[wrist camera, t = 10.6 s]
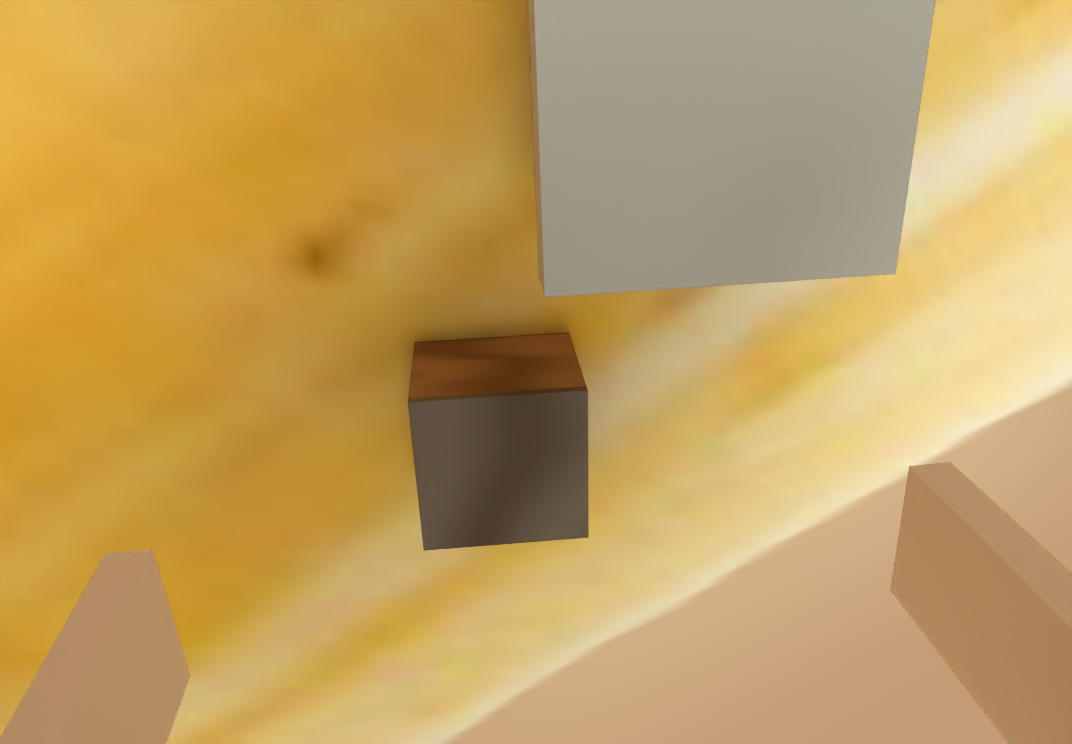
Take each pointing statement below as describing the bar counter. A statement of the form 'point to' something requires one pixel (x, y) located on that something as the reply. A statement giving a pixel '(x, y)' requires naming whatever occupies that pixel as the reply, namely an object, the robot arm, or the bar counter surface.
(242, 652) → the bar counter surface
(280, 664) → the bar counter surface
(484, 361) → the brown wooden block
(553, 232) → the lid
